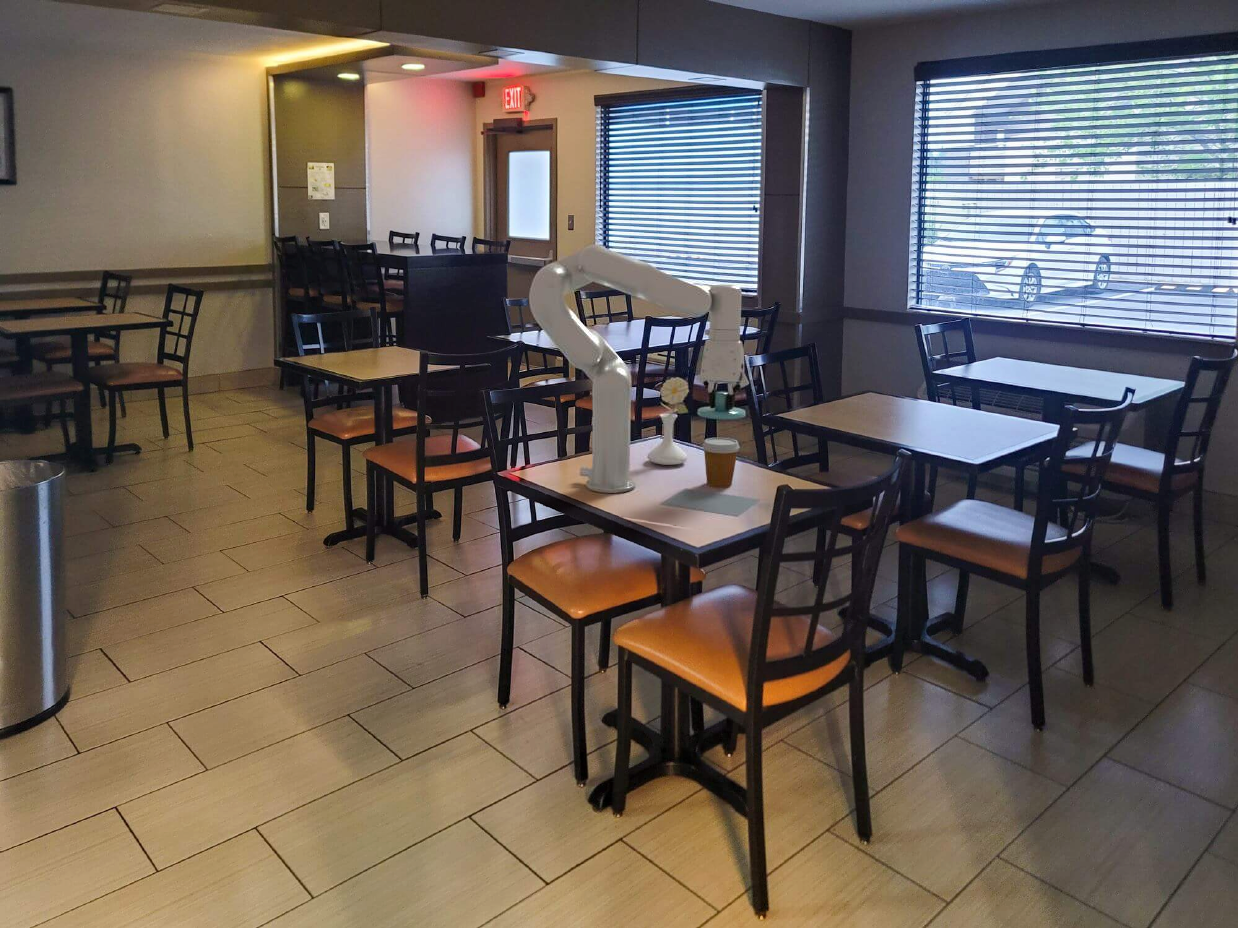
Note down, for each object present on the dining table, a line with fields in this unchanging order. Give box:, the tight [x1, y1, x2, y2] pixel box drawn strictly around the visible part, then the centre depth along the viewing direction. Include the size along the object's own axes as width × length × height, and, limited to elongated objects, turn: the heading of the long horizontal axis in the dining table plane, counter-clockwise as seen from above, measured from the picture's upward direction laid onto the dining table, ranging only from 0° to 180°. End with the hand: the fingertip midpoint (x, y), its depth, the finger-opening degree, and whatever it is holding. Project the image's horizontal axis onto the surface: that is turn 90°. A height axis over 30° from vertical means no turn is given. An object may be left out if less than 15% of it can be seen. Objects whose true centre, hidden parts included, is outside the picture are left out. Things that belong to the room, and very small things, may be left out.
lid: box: [697, 391, 747, 420], centre depth 250 cm, size 12×12×6 cm
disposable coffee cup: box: [702, 437, 740, 489], centre depth 256 cm, size 10×10×12 cm
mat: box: [659, 487, 761, 518], centre depth 242 cm, size 20×16×1 cm
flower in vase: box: [646, 376, 690, 466], centre depth 277 cm, size 13×11×25 cm
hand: (721, 407), depth 250 cm, fingers closed on lid, 3 cm apart
